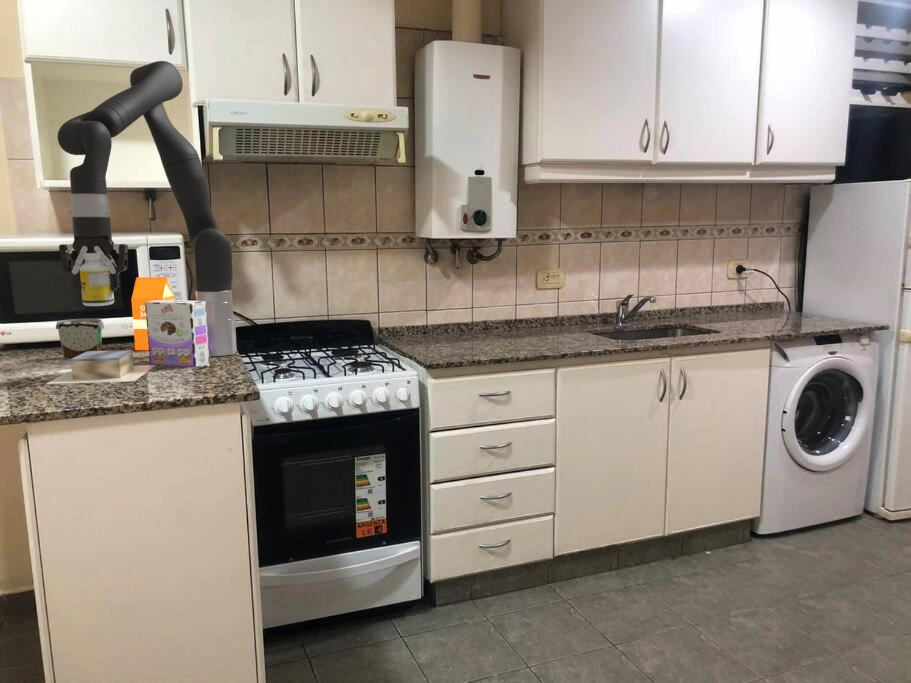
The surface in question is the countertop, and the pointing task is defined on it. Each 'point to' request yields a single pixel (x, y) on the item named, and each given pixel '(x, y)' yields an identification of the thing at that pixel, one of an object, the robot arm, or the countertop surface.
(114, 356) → the plinth
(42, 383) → the countertop surface
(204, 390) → the countertop surface
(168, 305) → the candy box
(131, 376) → the baseplate
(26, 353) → the countertop surface
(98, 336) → the food container
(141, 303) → the orange juice
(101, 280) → the pill bottle
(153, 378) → the countertop surface
